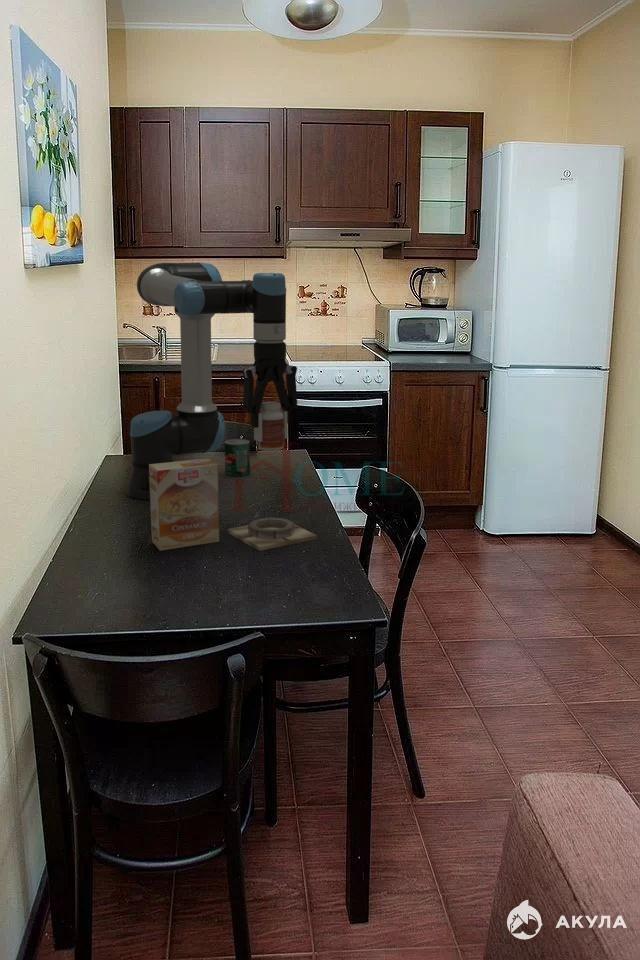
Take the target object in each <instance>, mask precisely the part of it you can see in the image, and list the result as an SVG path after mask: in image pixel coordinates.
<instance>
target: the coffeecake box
mask: <svg viewBox="0 0 640 960" xmlns="http://www.w3.org/2000/svg"><path fill="white" fill-rule="evenodd" d="M218 466H219V464H218V463H217V462H216V461H213V460H211V459H210V458H198V459H187V460H180V461H179V460H178V461H177V460H176V461H173V462H167V463H157V464H149V479H150V500H149V501H150V505H149V506H150V520H151V521H150V523H151V525H150V526H151V527H150V528H151V529H150V530H151V543H152V544H153V545H154V546H155V547H156V548H157V549H158V550H159V551H168V550H173V549H180V548H186V547H193V546H199V545H205V544H206V545H207V544H212V543H219V542H220V518H219V515H220V514H219V513H220V512H219V467H218Z"/></svg>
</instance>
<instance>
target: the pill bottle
mask: <svg viewBox="0 0 640 960" xmlns="http://www.w3.org/2000/svg"><path fill="white" fill-rule="evenodd" d="M281 409H282V407H281V404H280V401H262V403H261V407H260V411H259V413H260V414H262V442H259V441H257V447H258V450H261V451H265V452H266V451H267V452H275V451H280V450H283V449H284V446H285V441H284V440H285V438H284V416H283V414H282V412H280V411H279V410H281Z"/></svg>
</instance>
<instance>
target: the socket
mask: <svg viewBox="0 0 640 960" xmlns="http://www.w3.org/2000/svg"><path fill="white" fill-rule="evenodd" d="M227 534H229V535H231V536H233V538H236V539H237V540H239V541H240V542H243V543H245V544H246V545H248V546H250V547H252V548H254V549H255V550H257V551H258V552H262V551H267V550H271V549H276V548H281V547H285V546H290V545H295V544H300V543H305V542H309V541H316V540H317V537H318V536H317V534H315V533H313V532H312V531H311V532H310V531H308V530H307V529H305V528H302V527H301V526H300V525H296V523H295V522H294V521H292V520H289V519H288V518H282V517H281V518H280V517H270V516H269V517H264V518H259V519H257V518H256V519H254V520H251V521H250V523H249V524H247V525H242V526H237V527H230V528H227Z"/></svg>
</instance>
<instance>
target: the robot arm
mask: <svg viewBox="0 0 640 960" xmlns="http://www.w3.org/2000/svg"><path fill="white" fill-rule="evenodd" d="M286 285H287V284H286V276H285V275H284V274H283V273H280V272H256V273H254V274H253V276H252V280H250V279H248V280H246V279H242V280H223V278H222V276H221V273H220V272H219V270H218V268H217V267H216V266H215V265H213V264H212V263H208V262H207V263H205V262H160V263H155V264H152V265H149V266H148V267H146V268H144V269H143V270H142V271H141V272H140V274H139V275H138V278H137V280H136V290H137V293H138V295H139V297H140V298H141V300H143V302H145V303H147V304H150V305H153V306H158V307H172V308H173V307H174V309H173V310H174V313H175V315H176V316H178V318H179V322H180V324H179V328H180V329H179V330H180V367H181V368H180V369H181V370H180V372H181V373H180V375H181V380H180V381H181V382H180V383H181V402H180V403H179V404H178V406H176V414H175V415H174V414H172V412H171V411H169V410H165V409H164V410H161V409H160V410H151V411H146V412H143V413H140V414H137V415H136V416H134V417H132V419H131V420H130V428H129V429H130V430H129V431H130V432H129V436H130V448H131V449H130V450H131V462H132V463H131V465H132V466H131V467H132V468H131V472H130V474H129V475H130V476H129V479H128V483H127V487H126V488H127V489H126V490H127V496H128V497H130V498H133V499H136V500H147V501H150V479H149V464H157V463H167V462H174V456H183V455H192V454H193V455H194V454H205V453H209V452H215V451H216V450H219V448H220V447H221V445H222V444H223V443H224V437H225V433H226V428H225V427H226V425H225V422H224V421H225V418H224V416H223V414H222V413H221V412H220V411H218V407H217V406H216V405H215V403H214V402H212V401H213V400H212V399H213V396H212V395H213V393H212V392H213V391H212V390H213V389H212V384H213V383H212V381H213V380H212V318H213V317H214V316H215V315H216V314H217V315H218V314H220V315H221V314H223V315H224V314H253V315H252V316H253V317H252V318H253V319H252V320H253V321H252V322H253V325H252V326H253V340H254V341H255V342H254V343H253V358H254V361H253V365H252V367H249V368H243V369H242V370H241V371H242V375H243V379H244V380H243V399H242V401H243V402H242V410H243V412H248V413H249V414H250V426H251V427H252V428H253V440H254V441H257V442H258V441H259V442H262V414H260V412H261V403H262V402H263V399H264V395H265V391H266V388H267V386H268V385H269V383H270V382H273V384H274V386H275V390H276V394H277V396H278V397H277V398H278V401H279V402H280V407H281V409H279V411H280V412H282V414H283V416H284V439H288V425H289V424H290V423H291V412H292V411H293V409H294V408H297V407H298V396H297V395H298V394H297V391H298V390H297V379H296V376H297V371H298V367H297V366H296V365H291V364H287V362H286V358H287V343H286V342H285V340H286V339H287V330H286V329H287V328H286V327H287V320H286V319H287V316H286V315H287V286H286ZM284 373H285V377H284ZM255 375H257V377H256V381H255V380H254V377H255ZM284 378H285V379H284ZM285 381H286V386H285ZM254 384H256V385H255V387H254Z"/></svg>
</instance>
